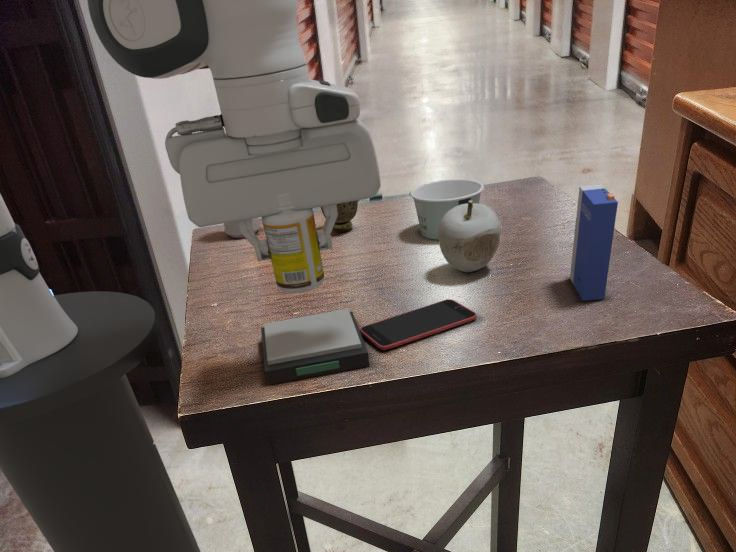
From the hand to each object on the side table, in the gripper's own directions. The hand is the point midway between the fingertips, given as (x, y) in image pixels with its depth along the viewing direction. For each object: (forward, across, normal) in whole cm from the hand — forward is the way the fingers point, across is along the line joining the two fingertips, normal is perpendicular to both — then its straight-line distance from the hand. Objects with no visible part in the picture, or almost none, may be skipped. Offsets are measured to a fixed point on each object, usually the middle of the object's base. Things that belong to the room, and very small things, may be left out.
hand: (295, 253), depth 68 cm
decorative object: (+12, +25, +17) cm, 33 cm away
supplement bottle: (+4, 0, 0) cm, 4 cm away
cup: (+12, +10, +46) cm, 49 cm away
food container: (+12, +27, +36) cm, 47 cm away
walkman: (+12, +37, +4) cm, 39 cm away
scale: (+12, 0, 0) cm, 12 cm away
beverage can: (+12, -8, +54) cm, 56 cm away
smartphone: (+12, +14, +2) cm, 18 cm away
